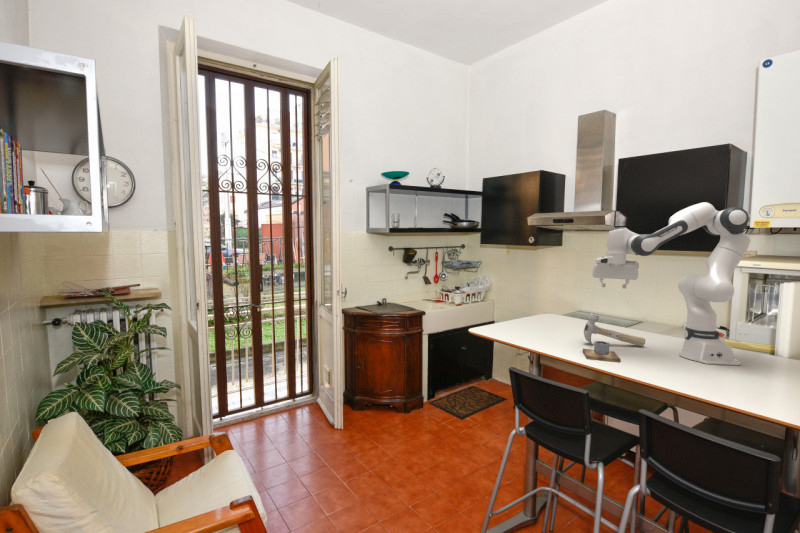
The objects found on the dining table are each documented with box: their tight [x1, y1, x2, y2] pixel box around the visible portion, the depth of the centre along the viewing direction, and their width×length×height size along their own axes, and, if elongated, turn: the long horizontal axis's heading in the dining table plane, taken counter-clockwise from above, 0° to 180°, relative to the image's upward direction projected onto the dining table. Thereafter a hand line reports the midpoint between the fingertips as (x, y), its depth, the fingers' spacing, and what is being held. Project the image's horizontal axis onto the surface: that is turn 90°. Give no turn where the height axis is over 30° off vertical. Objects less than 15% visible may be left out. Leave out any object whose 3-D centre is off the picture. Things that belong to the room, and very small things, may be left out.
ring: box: [593, 340, 610, 355], centre depth 191 cm, size 6×6×5 cm
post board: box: [582, 343, 622, 363], centre depth 191 cm, size 14×12×6 cm
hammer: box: [583, 312, 646, 348], centre depth 211 cm, size 16×5×30 cm
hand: (613, 287), depth 202 cm, fingers open, 8 cm apart
